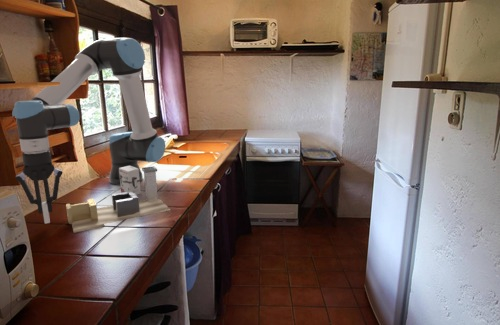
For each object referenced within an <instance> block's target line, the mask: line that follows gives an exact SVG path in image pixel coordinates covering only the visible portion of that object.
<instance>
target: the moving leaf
mask: <svg viewBox="0 0 500 325" xmlns="http://www.w3.org/2000/svg"><path fill="white" fill-rule="evenodd" d="M86 201H87V202H81V203H75V204H71V203H66V204H65V207H66V213H67V214H66V215H67V221H68V224H69V225H72V223H73V221H77V220H82V219H87V218H91V220H92V221H95V220H98V214H97V208H98V207H97V203H96V201H95V199H94V198H93V197H92V198H87V199H86Z"/></svg>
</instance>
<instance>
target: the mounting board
mask: <svg viewBox="0 0 500 325" xmlns="http://www.w3.org/2000/svg"><path fill="white" fill-rule="evenodd" d="M139 210H140V212H136V213H135V214H132V215H127V216H122V217H118V216H117V210H114V209H113V205H109V206H102V207H97V214H98V220H95V221H92V220H91V218H87V219H82V220H77V221H73V223H72V224H71V226H72V231H73V233H79V232H84V231H88V230H93V229H99V228H103V227H105V225H106V224H110V223H114V222H118V221H125V220H129V219H135V218H138V217H144V216H149V215H153V214H158V213H162V212H167V211H171V209H170V208H169V207H168V205H166V203H164V202H163V200H161V198H159V197H158V201H153V202H148V201H147V200H146V199H141V200H139Z"/></svg>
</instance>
